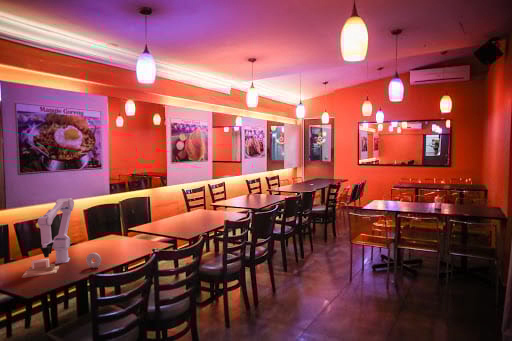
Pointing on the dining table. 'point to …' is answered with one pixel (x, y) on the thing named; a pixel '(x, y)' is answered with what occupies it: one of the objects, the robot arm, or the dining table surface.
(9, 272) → the dining table surface
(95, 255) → the donut
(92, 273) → the dining table surface
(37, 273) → the notched stand
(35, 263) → the pale pink flat block
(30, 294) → the dining table surface
